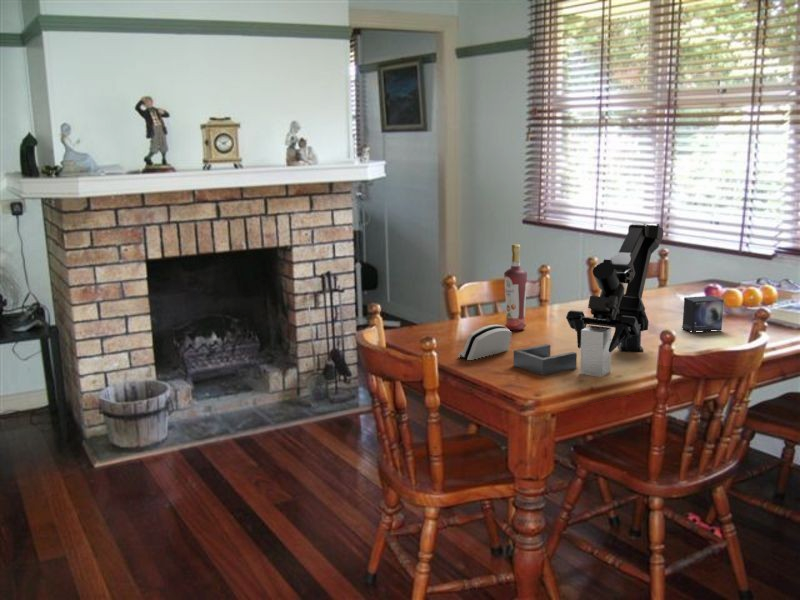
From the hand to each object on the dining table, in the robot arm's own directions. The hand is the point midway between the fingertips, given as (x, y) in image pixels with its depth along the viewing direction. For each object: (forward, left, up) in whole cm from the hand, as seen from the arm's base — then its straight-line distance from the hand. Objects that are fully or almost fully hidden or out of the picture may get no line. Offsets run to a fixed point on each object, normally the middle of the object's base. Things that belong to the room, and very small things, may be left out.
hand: (594, 349), depth 212 cm
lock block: (-1, +1, -7) cm, 7 cm away
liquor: (-50, -19, -7) cm, 54 cm away
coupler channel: (-6, -12, -7) cm, 15 cm away
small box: (-50, +40, -7) cm, 64 cm away
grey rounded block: (-18, -28, -7) cm, 35 cm away
